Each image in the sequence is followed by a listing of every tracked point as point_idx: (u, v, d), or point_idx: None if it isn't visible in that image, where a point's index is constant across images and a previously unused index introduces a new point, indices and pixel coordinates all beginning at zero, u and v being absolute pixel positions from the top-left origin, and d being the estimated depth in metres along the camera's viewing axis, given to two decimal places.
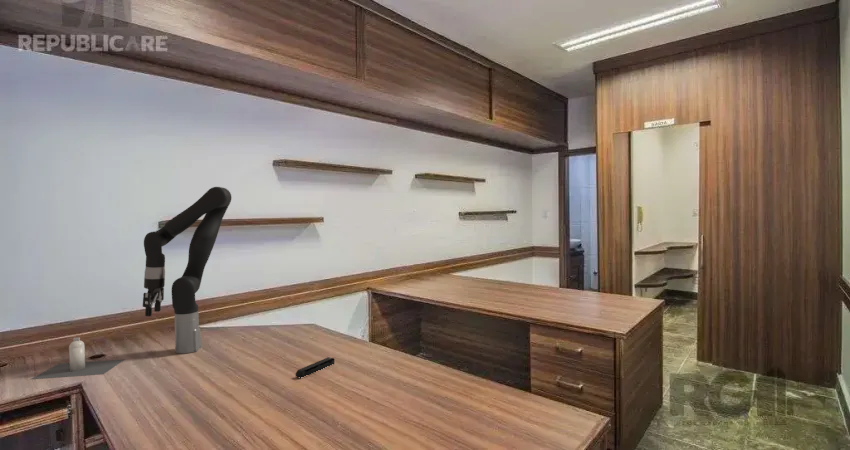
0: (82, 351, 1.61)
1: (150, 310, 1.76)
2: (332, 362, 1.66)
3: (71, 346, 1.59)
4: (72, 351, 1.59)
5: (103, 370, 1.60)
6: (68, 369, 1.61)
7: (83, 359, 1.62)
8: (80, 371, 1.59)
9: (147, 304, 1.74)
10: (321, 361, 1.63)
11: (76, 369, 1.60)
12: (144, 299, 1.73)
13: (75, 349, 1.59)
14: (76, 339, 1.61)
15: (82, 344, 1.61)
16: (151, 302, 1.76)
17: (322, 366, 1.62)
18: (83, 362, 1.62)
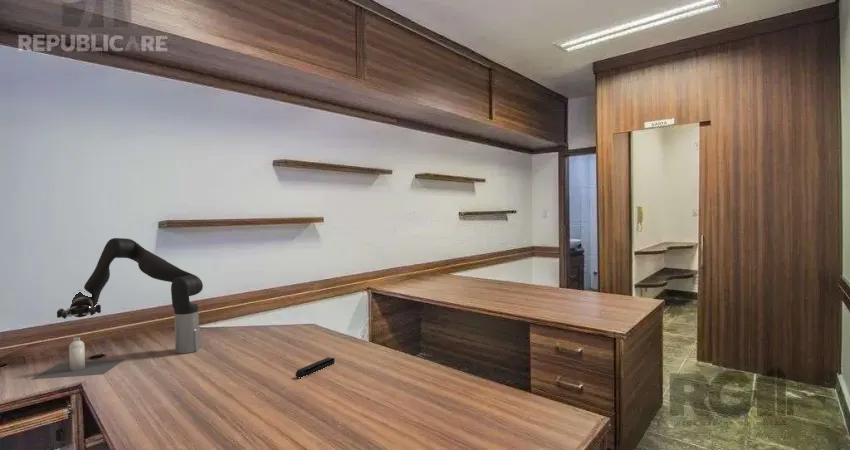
0: (82, 351, 1.61)
1: (63, 312, 1.69)
2: (332, 362, 1.66)
3: (71, 346, 1.59)
4: (72, 351, 1.59)
5: (103, 370, 1.60)
6: (68, 369, 1.61)
7: (83, 359, 1.62)
8: (80, 371, 1.59)
9: None
10: (321, 361, 1.63)
11: (76, 369, 1.60)
12: None
13: (75, 349, 1.59)
14: (76, 339, 1.61)
15: (82, 344, 1.61)
16: None
17: (322, 366, 1.62)
18: (83, 362, 1.62)
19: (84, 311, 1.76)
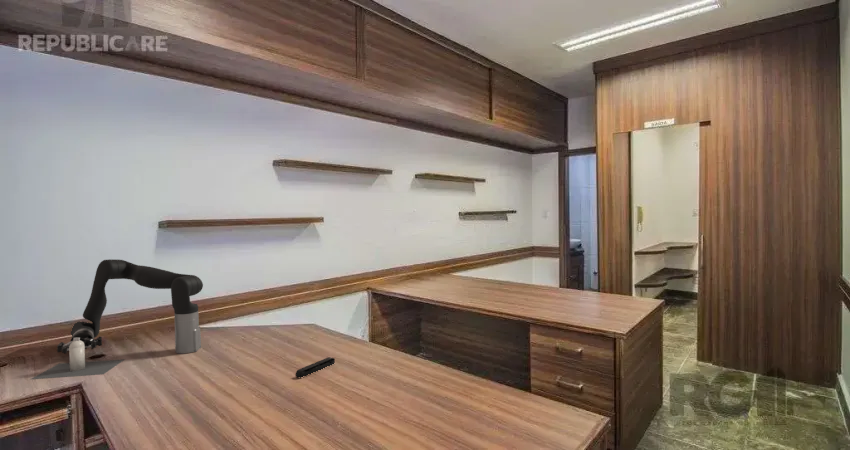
0: (82, 351, 1.61)
1: (64, 347, 1.66)
2: (332, 362, 1.66)
3: (71, 346, 1.59)
4: (72, 351, 1.59)
5: (103, 370, 1.60)
6: (68, 369, 1.61)
7: (83, 359, 1.62)
8: (80, 371, 1.59)
9: None
10: (321, 361, 1.63)
11: (76, 369, 1.60)
12: None
13: (75, 349, 1.59)
14: (76, 339, 1.61)
15: (82, 344, 1.61)
16: (66, 344, 1.69)
17: (322, 366, 1.62)
18: (83, 362, 1.62)
19: (85, 344, 1.73)
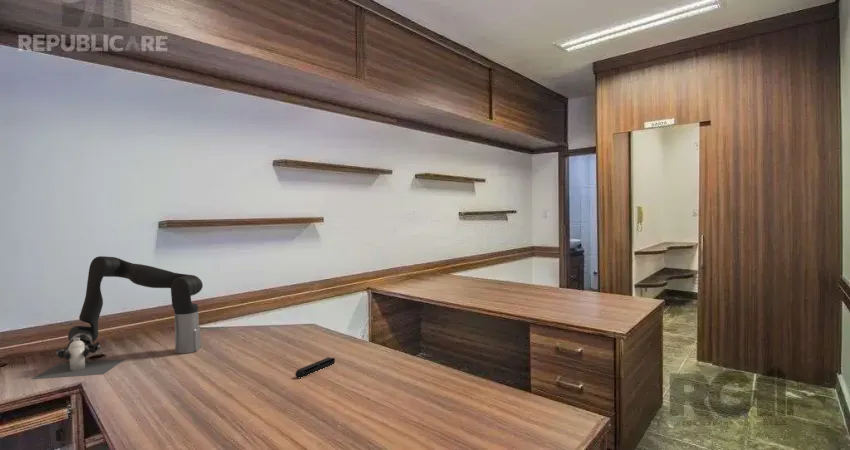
0: (82, 351, 1.61)
1: (66, 353, 1.59)
2: (332, 362, 1.66)
3: (71, 346, 1.59)
4: (72, 351, 1.59)
5: (103, 370, 1.60)
6: (68, 369, 1.61)
7: (83, 359, 1.62)
8: (80, 371, 1.59)
9: None
10: (321, 361, 1.63)
11: (76, 369, 1.60)
12: (58, 355, 1.62)
13: (75, 349, 1.59)
14: (76, 339, 1.61)
15: (82, 344, 1.61)
16: (67, 350, 1.62)
17: (322, 366, 1.62)
18: (83, 362, 1.62)
19: None
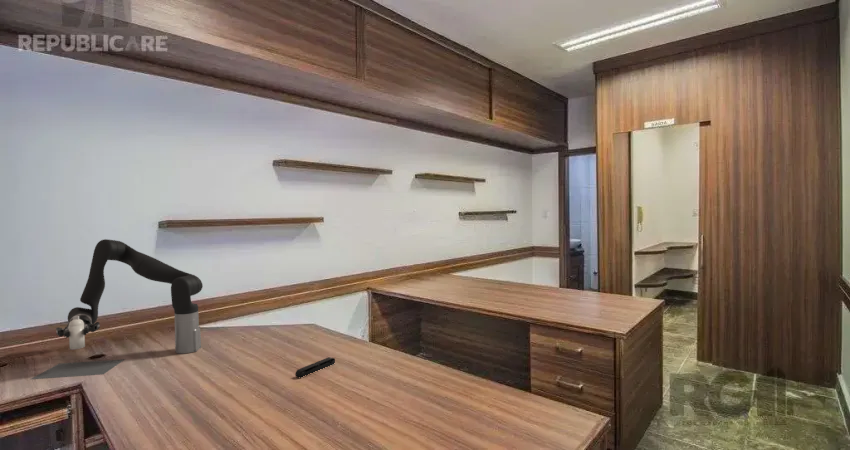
0: (81, 329, 1.61)
1: (66, 331, 1.59)
2: (332, 362, 1.66)
3: (70, 324, 1.59)
4: (71, 329, 1.59)
5: (103, 370, 1.60)
6: (68, 369, 1.61)
7: (83, 338, 1.61)
8: (80, 371, 1.59)
9: None
10: (321, 361, 1.63)
11: (76, 347, 1.59)
12: (57, 333, 1.61)
13: (74, 327, 1.59)
14: (75, 317, 1.60)
15: (81, 322, 1.61)
16: (66, 329, 1.62)
17: (322, 366, 1.62)
18: (83, 341, 1.61)
19: None
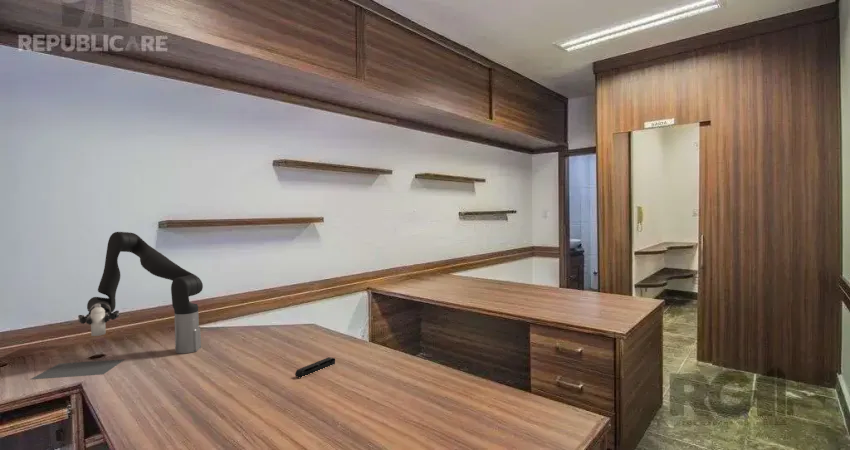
0: (102, 317, 1.68)
1: (88, 318, 1.67)
2: (333, 362, 1.66)
3: (93, 312, 1.66)
4: (93, 317, 1.66)
5: (103, 370, 1.60)
6: (68, 369, 1.61)
7: (104, 325, 1.69)
8: (80, 371, 1.59)
9: None
10: (321, 361, 1.63)
11: (97, 334, 1.67)
12: (79, 321, 1.69)
13: (96, 315, 1.66)
14: (97, 306, 1.68)
15: (103, 310, 1.68)
16: None
17: (322, 366, 1.62)
18: (104, 328, 1.69)
19: None
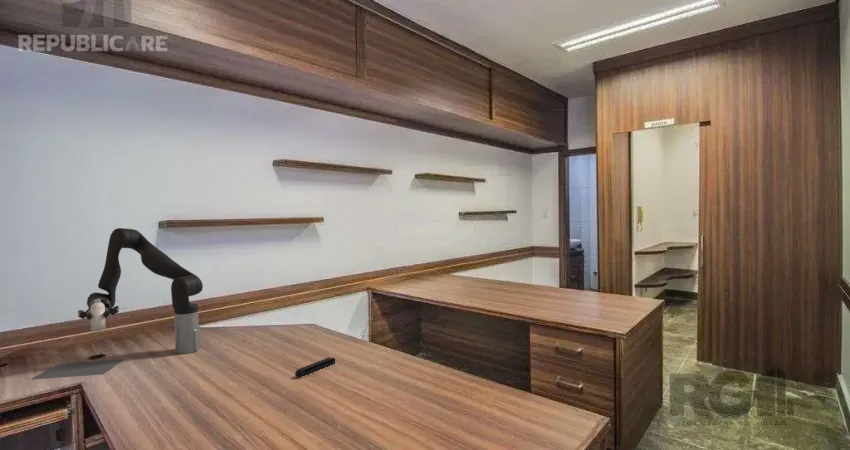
0: (102, 312, 1.68)
1: (88, 313, 1.66)
2: (333, 362, 1.66)
3: (92, 307, 1.66)
4: (93, 312, 1.66)
5: (103, 370, 1.60)
6: (68, 369, 1.61)
7: (104, 320, 1.69)
8: (80, 371, 1.59)
9: None
10: (321, 361, 1.63)
11: (97, 329, 1.67)
12: (79, 316, 1.69)
13: (96, 310, 1.66)
14: (97, 301, 1.68)
15: (103, 306, 1.68)
16: (88, 311, 1.69)
17: (322, 366, 1.62)
18: (104, 323, 1.69)
19: None
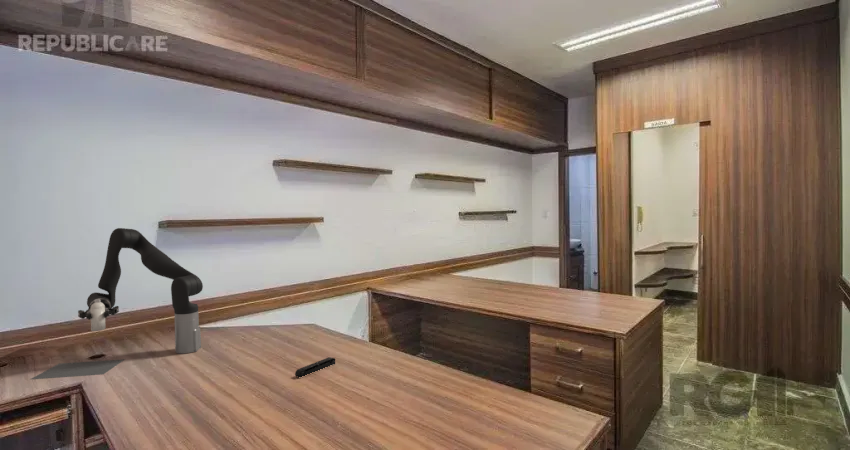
0: (102, 312, 1.68)
1: (88, 313, 1.66)
2: (333, 362, 1.66)
3: (92, 307, 1.66)
4: (93, 312, 1.66)
5: (103, 370, 1.60)
6: (68, 369, 1.61)
7: (104, 320, 1.69)
8: (80, 371, 1.59)
9: None
10: (321, 361, 1.63)
11: (97, 329, 1.67)
12: (79, 316, 1.69)
13: (96, 310, 1.66)
14: (97, 301, 1.68)
15: (103, 306, 1.68)
16: (88, 311, 1.69)
17: (322, 366, 1.62)
18: (104, 323, 1.69)
19: None
